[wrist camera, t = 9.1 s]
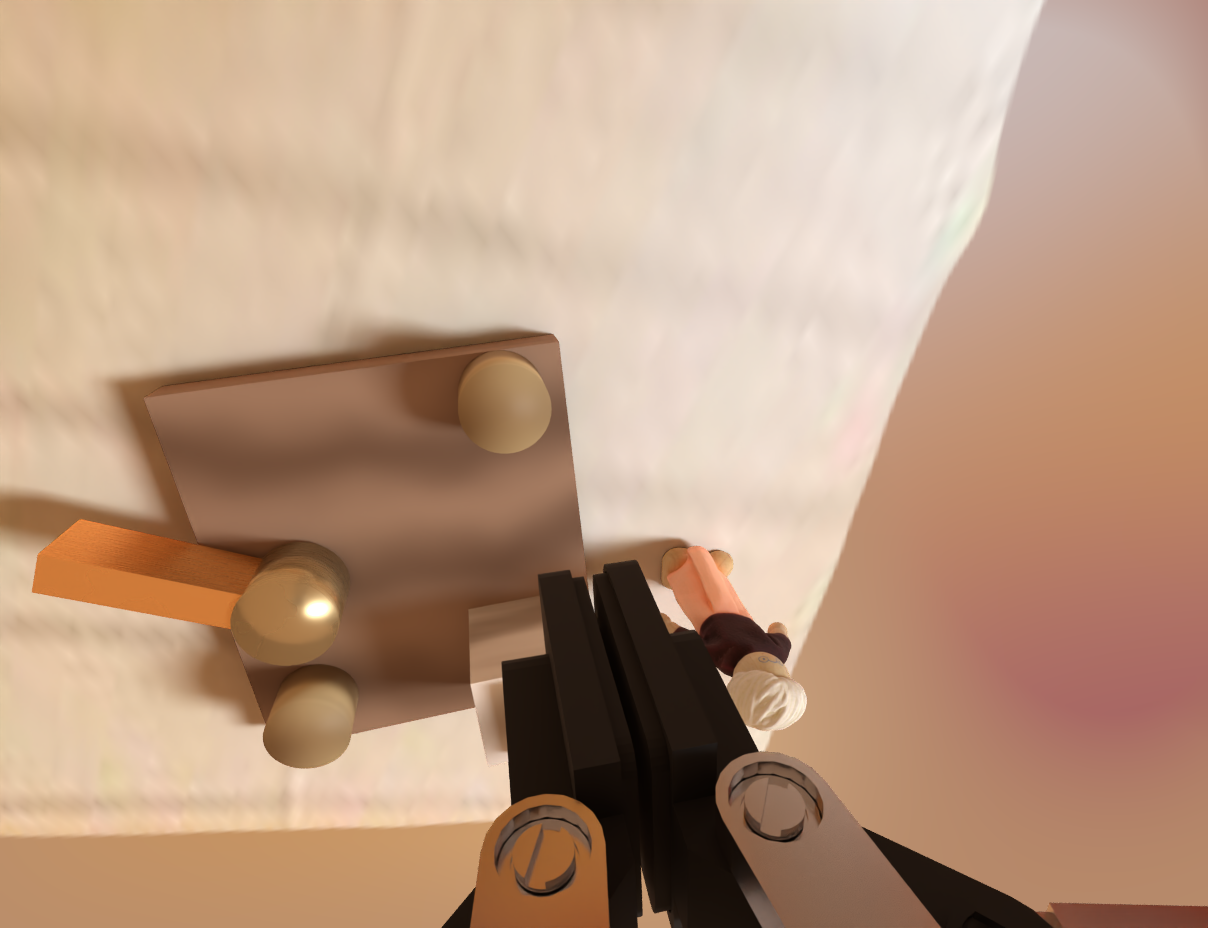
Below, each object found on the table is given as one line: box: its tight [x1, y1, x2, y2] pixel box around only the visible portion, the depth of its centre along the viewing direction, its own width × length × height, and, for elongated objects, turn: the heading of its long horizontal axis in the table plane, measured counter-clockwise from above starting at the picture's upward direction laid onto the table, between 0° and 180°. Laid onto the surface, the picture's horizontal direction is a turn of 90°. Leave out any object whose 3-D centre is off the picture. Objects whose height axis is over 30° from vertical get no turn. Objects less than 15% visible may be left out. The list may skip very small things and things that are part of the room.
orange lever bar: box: [32, 519, 350, 666], centre depth 30 cm, size 12×4×4 cm, turn 68°
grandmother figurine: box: [661, 546, 807, 731], centre depth 34 cm, size 8×4×13 cm, turn 88°
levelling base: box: [143, 334, 589, 768], centre depth 31 cm, size 20×18×10 cm
